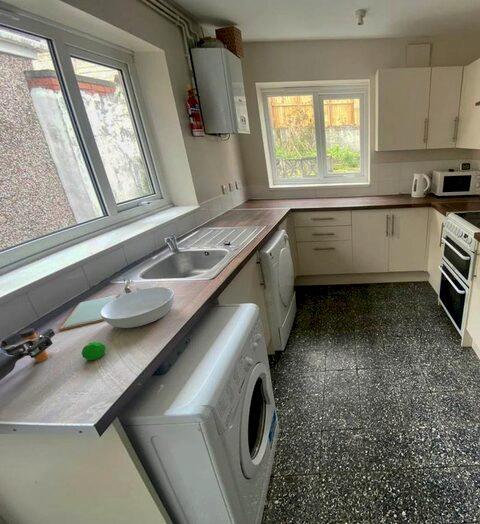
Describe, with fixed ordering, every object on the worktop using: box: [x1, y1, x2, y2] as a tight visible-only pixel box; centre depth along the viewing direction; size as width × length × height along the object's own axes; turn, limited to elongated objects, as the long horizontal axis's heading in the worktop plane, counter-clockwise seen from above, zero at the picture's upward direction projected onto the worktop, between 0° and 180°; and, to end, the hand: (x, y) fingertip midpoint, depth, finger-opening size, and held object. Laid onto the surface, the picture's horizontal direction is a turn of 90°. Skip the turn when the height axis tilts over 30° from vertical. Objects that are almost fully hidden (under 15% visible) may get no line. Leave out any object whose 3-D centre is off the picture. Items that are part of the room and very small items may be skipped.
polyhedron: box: [81, 341, 106, 361], centre depth 80 cm, size 5×5×5 cm
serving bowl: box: [100, 286, 175, 329], centre depth 99 cm, size 21×21×7 cm
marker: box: [18, 327, 50, 363], centre depth 80 cm, size 3×3×10 cm
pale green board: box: [59, 294, 119, 331], centre depth 105 cm, size 12×20×1 cm, turn 27°
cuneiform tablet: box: [123, 278, 138, 294], centre depth 116 cm, size 6×4×12 cm
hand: (34, 333), depth 80 cm, fingers open, 8 cm apart
